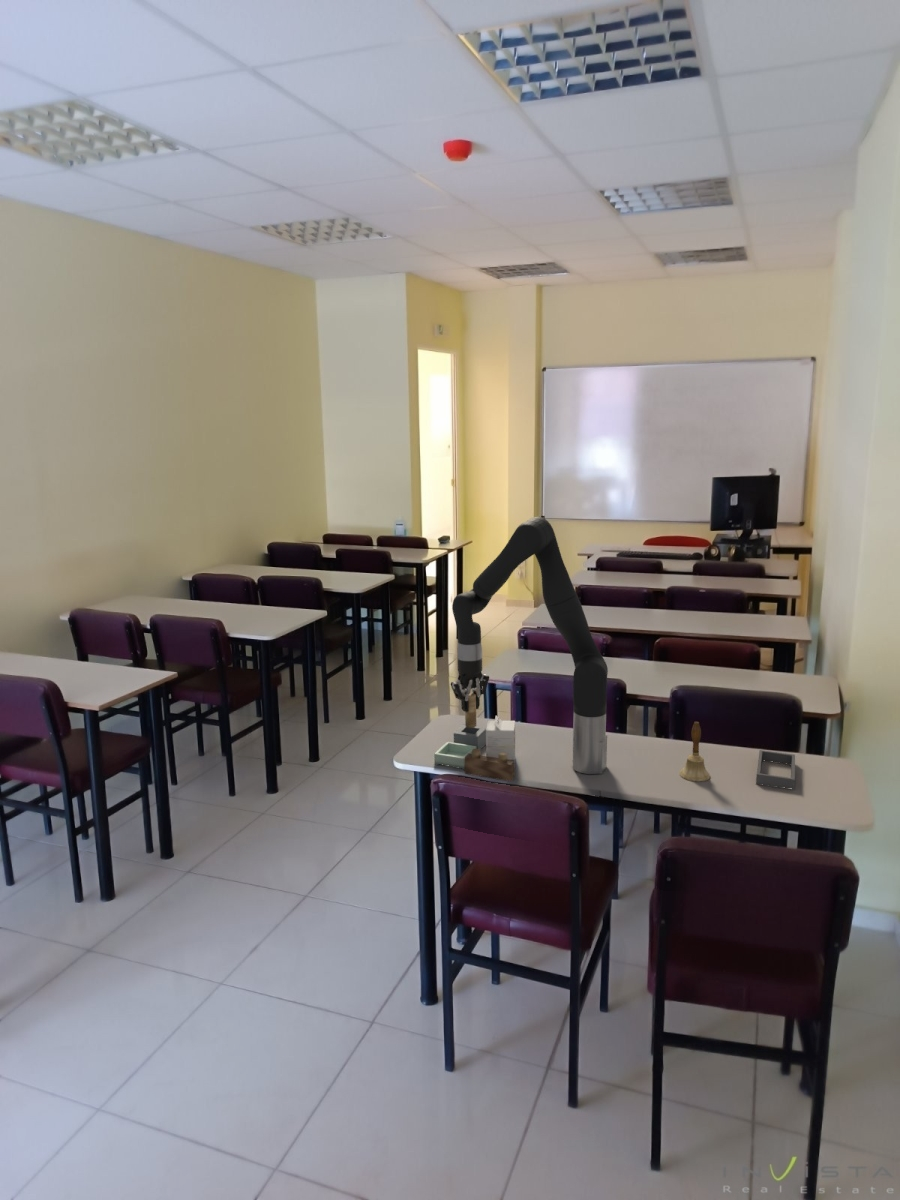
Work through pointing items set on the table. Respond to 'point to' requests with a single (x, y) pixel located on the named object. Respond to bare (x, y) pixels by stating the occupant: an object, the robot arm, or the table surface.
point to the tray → (453, 754)
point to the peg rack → (490, 766)
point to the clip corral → (772, 779)
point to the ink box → (500, 738)
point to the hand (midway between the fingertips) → (470, 709)
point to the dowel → (471, 712)
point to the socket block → (471, 736)
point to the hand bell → (695, 760)
